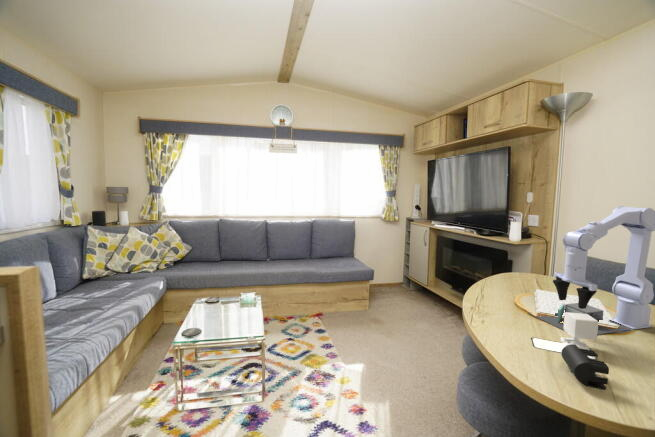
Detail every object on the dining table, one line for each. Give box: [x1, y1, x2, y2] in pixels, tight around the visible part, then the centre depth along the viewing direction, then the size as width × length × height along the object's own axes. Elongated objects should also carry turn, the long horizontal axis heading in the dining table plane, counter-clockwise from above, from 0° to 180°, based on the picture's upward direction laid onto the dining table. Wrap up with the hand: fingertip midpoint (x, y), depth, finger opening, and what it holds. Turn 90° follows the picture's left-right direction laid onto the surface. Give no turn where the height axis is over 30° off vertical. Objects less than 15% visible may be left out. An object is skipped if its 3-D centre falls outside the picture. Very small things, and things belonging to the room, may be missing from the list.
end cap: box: [560, 344, 610, 391], centre depth 82 cm, size 10×7×7 cm
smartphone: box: [530, 337, 598, 360], centre depth 97 cm, size 8×1×16 cm
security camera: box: [560, 312, 598, 350], centre depth 98 cm, size 6×7×10 cm
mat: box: [527, 312, 632, 336], centre depth 116 cm, size 24×20×1 cm
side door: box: [555, 303, 565, 322], centre depth 118 cm, size 2×8×5 cm, turn 133°
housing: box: [564, 302, 604, 322], centre depth 116 cm, size 8×9×6 cm
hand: (571, 303), depth 108 cm, fingers open, 7 cm apart
